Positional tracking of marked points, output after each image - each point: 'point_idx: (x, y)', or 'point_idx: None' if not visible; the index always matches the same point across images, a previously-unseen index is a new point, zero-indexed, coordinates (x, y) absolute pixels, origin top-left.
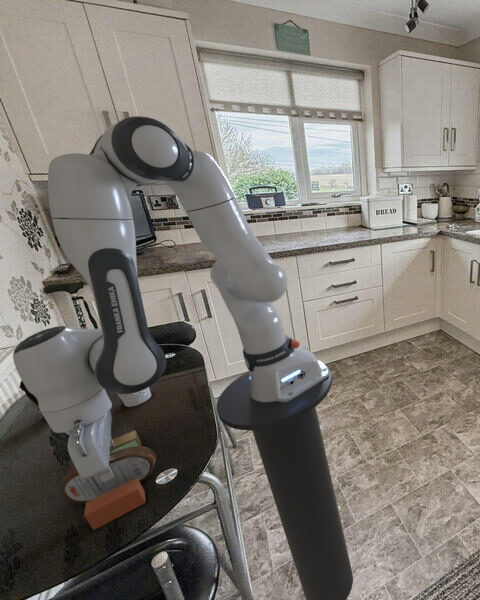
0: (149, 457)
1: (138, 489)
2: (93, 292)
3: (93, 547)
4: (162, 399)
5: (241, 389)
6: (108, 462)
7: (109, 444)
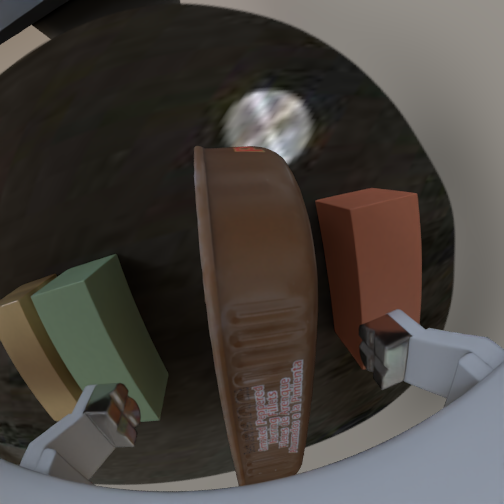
0: (270, 150)
1: (413, 193)
2: None
3: (429, 290)
4: None
5: None
6: None
7: (405, 467)
